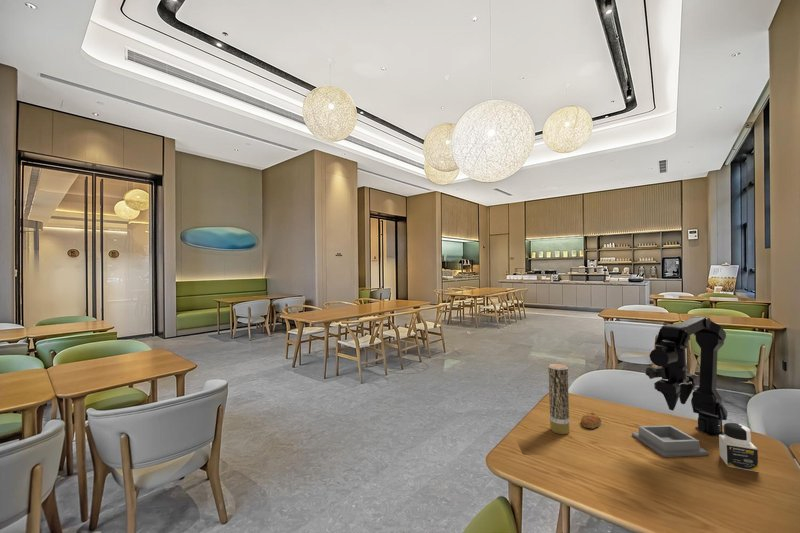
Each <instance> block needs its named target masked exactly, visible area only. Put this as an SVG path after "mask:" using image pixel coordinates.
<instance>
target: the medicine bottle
mask: <svg viewBox="0 0 800 533" xmlns="http://www.w3.org/2000/svg"><path fill="white" fill-rule="evenodd" d="M723 432H724V435H718V442H719V443H718V444H719V456H720V458H721V459H722V461H723V462H724V463H725V465H726V466H727V467H728V468H733V469H734V468H735V469H740V470H745V471H749V472H750V471H751V472H755V473H757V472H759V457H758V456H759V454H758V448H757V446H756V445H754V444H753V443H752V436H751V429H750V428H749V427H747V426H745V425H744V424H739V423H736V422H726V423H724V424H723Z"/></svg>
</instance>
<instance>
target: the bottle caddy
mask: <svg viewBox="0 0 800 533" xmlns="http://www.w3.org/2000/svg"><path fill="white" fill-rule="evenodd" d="M631 436H632V437H633V438H635V439H637V440H638V441H640V442H642V443H643V444H644V445H645V446H648V448H650V449H652V450H653V451H655V452H656V453H657V454H659V455H660V456H662V457H665V458H668V457H669V458H670V457H671V458H672V457H691V456H692V457H697V456H709V452H708V451H707V450H705V449H704V448H702V447H701V446H700V444H701V443H700V440H698V439H697V438H695V437H693V436H691V435H689V434H687V433H686V432H684V431H682V430H680V429H678V428H676V427H675V426H673V425H670V424H669V425H668V424H666V425H664V424H663V425H642V426H641V425H638V432H631Z"/></svg>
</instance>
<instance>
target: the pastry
mask: <svg viewBox="0 0 800 533" xmlns="http://www.w3.org/2000/svg"><path fill="white" fill-rule="evenodd" d="M580 420H581V426H583V428H588V429H590V430H592V429H596V427H597V428H599V426H600V425H601V424H602V422H603V421H602V419H601V418H600V417H599V415H598V414H597V413H595V412H587V413H585V414H584V415H582V416H581V419H580Z"/></svg>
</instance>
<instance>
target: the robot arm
mask: <svg viewBox="0 0 800 533" xmlns="http://www.w3.org/2000/svg"><path fill="white" fill-rule="evenodd" d="M692 335H693V336H694V337H695V341H696V343H697V345H698V346H699V348H700V361H699V362H700V364H699V382H698V377H697V376H696V375H695V374H692V373H688V372H687V370H688V369H689V364H688V365H687V358H686V357H687V354H686V349H688V345H687V344H688V342H689V341H690V340H691V336H692ZM726 337H727V333H726V331H725V329H724V328H723V327H722V326H721V325H720V324H718V323H716V322H714V321H712V320H711V319H710V318H709V317H706V316H698V315H695V316H694V315H693V316H691V317H690V318H689V319H686V320H685V321H681V322H679V323H676V324H664V325H662V326H661V328H660V329H659V331H658V334H657V337H656V340H655V342H654V345H655V349H653V350H651V351H650V353H649V360H650V361H651V363H653V364H654V365H655V366H656V367H654V366H649V367H646V369H645V375H646V376H647V377H648V378H649V380H653V379H657V378H661V379H659V380H657V381H655V382H654V383H653V385H654V389H655V390H656V391H658V392H660V393H661V394H662V395H663V397H664V399H665V401H666V404H667V407H668V409H669V411H675V408H676V405H677V403H678V400H679V401H680V404H681V405H685V404H686V403H687V401H688V399H689V397H690V396H691V395H692V397H691V399H690V401H691V408H692V412H693V413H695V414H697V415H698V417H697V426H694V429H696V430H698V431H700V432H702V433H704V434H706V435H708V436H710V437H714V436H716V437H717V436H719V435H724V431H723V421H727V420H728V411H727V409H726V408H725V407H724V405H723V401H722V400H723V399H722V397H721V395H720V394H719V392H718V390H717V372H718V352H719V350H720V349H721V347H723V346H724V344H725V339H726ZM698 383H699V384H698ZM697 384H698V387H697V388H696V390H694V389H695V387H696V386H697ZM718 425H720V426H718Z"/></svg>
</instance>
